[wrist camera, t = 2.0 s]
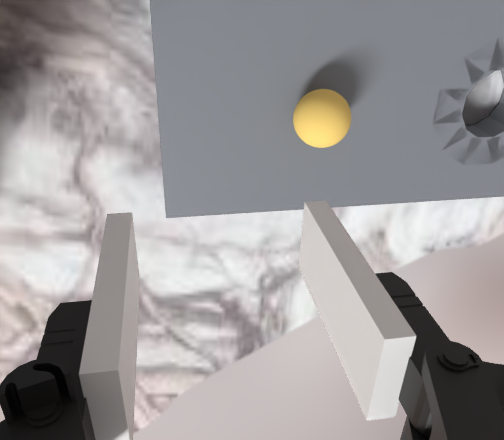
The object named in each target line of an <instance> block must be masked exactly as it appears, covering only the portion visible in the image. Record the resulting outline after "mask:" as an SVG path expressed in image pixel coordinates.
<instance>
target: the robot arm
mask: <svg viewBox="0 0 504 440" xmlns="http://www.w3.org/2000/svg"><path fill="white" fill-rule="evenodd" d="M299 270H300V272H301V274H302V276H303V279H304V281H305V283H306V285H307V288H308V290H309V292H310V294H311V297H312V299H313V301H314V303H315V306H316V308H317V310H318V312H319V315H320V317H321V319H322V321H323V324H324V326H325V328H326V330H327V333H328V335H329V337H330V339H331V341H332V344H333V346H334V348H335V351H336V353H337V355H338V357H339V359H340V362H341V364H342V366H343V369H344V371H345V373H346V375H347V378H348V380H349V382H350V384H351V387H352V389H353V391H354V393H355V395H356V398H357V400H358V402H359V405H360V407H361V409H362V411H363V413H364V416H365V418H366V420H367V421H369V420H376V419H383V418H390V417H395V415H396V411H397V408H398V404H399V401H400V403H401V405H402V406H403V408H404V410H405V412H406V414H407V417H406V421H405V425H404V428H403V432H402V435H401V439H400V440H504V365H501V364H494V363H488V362H484V361H482V360H481V358H480V357H479V355H477V354H476V353H475V352H474V351H472V350H471V349H470V348H468V347H466V346H464V345H462V344H460V343H456V342H452V341H450V340H449V339H448V337H447V336H446V335H445V333H444V332H443V331H442V329H441V328H440V327H439V325H438V324H437V323H436V321H435V320H434V319H433V317H432V316H431V315H430V313H429V312H428V310H427V309H426V308H425V307H424V306H423V304H422V302H421V301H420V300H419V298H418V297H416V296H415V293H414V292H413V291H412V289H411V288H410V286H409V285H408V284H407V283H406V282H405V281H404V280H403V279H401V278H400V277H398V276H397V275H395V274H394V273H392V272H388V273H377V274H375V273H374V272H373V270H372V269H371V267H370V266H369V264H368V263H367V261H366V260H365V258H364V257H363V255H362V254H361V252H360V251H359V249H358V248H357V246H356V245H355V243H354V242H353V240H352V239H351V237H350V236H349V234H348V233H347V231H346V230H345V228H344V227H343V225H342V224H341V222H340V221H339V219H338V218H337V216H336V215H335V213H334V212H333V210H332V209H331V207H330V206H329V204H328V203H327V201H310V202H305V203H304V214H303V225H302V236H301V247H300V258H299ZM139 290H140V278H139V269H138V261H137V252H136V243H135V235H134V226H133V218H132V213H116V214H107V219H106V224H105V230H104V235H103V241H102V247H101V252H100V258H99V264H98V269H97V275H96V281H95V286H94V292H93V297H92V300H89V301H78V302H67V303H60V304H59V306H58V307H57V308H56V309H55V310H54V311H53V313H52V314H51V315H50V316H49V318H48V321H47V325H46V328H45V332H44V333H45V334H44V335H43V339H42V342H41V347H40V349H39V353H38V356H37V360H33V361H30V362H28V363H26V364H23V365H21V366H19V367H17V368H16V369H15V370H13V371H12V372H11V373H9V374H8V375H7V376H6V378H5V379H4V380H3V382H2V383H1V384H0V405H1V408H2V411H3V413H4V416H5V420H3V421H2V422H0V440H133V423H134V401H135V379H136V356H137V334H138V312H139Z"/></svg>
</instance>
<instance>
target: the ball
mask: <svg viewBox="0 0 504 440" xmlns="http://www.w3.org/2000/svg"><path fill="white" fill-rule="evenodd" d="M293 124H294V128H295V131H296V133H297V135H298V136H299V137H300V139H301V140H303V141H304V142H305V143H306V144H308V145H310V146H313V147H317V148H325V147H330V146H333V145H335V144H337V143H338V142H339V141H341V140H342V139H343V138H344V137H345V135H346V134H347V132H348V130H349V128H350V124H351V110H350V107H349V105H348V103H347V101H346V100H345V99H344V98H343V97H342V96H341V95H340V94H339V93H337V92H335V91H333V90H329V89H318V90H314V91H311V92H309V93H307V94H306V95H305V96H303V97H302V98H301V99H300V101H299V102H298V104H297V105H296V108H295V111H294V115H293Z"/></svg>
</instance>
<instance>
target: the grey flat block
mask: <svg viewBox="0 0 504 440" xmlns="http://www.w3.org/2000/svg"><path fill="white" fill-rule="evenodd" d="M150 11H151V24H152V37H153V51H154V64H155V77H156V90H157V104H158V117H159V130H160V143H161V157H162V170H163V183H164V196H165V210H166V218H174V217H190V216H205V215H221V214H236V213H252V212H268V211H283V210H299V209H304V203H305V202H310V201H327V203H328V204H329V206H330V207H346V206H361V205H377V204H392V203H408V202H424V201H439V200H455V199H471V198H486V197H502V196H504V89H503V93H502V96H501V99H500V103H499V104H498V105H497V106H496V108H495V109H494V110H493V111H492V113H491V114H490V115H489V116H488V117H487V118H485V119H483V120H481V121H480V122H478V123H476V124H474V125H465V124H464V120H463V117H462V112H463V109H464V105H465V101H466V97H467V95H468V94H469V93H470V91H471V90H472V89H473V88H474V86H475V85H476V84H477V82H478V81H479V80H480V79H482V78H484V77H486V76H487V75H489V74H491V73H493V72H494V71H496V70H501V73H502V77H503V81H504V0H150ZM318 89H329V90H333V91H335V92H337V93H339V94H340V95H341V96H342V97H343V98H344V99H345V100H346V101H347V103H348V105H349V107H350V110H351V124H350V128H349V130H348V132H347V134H346V135H345V137H344V138H343V139H342V140H341V141H339V142H338V143H337V144H335V145H333V146H330V147H325V148H317V147H313V146H310V145H308V144H306V143H305V142H304V141H303V140H301V139H300V137H299V136H298V135H297V133H296V131H295V128H294V124H293V115H294V111H295V108H296V105H297V104H298V102H299V101H300V99H301V98H302V97H303V96H305V95H306V94H307V93H309V92H311V91H314V90H318Z"/></svg>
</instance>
